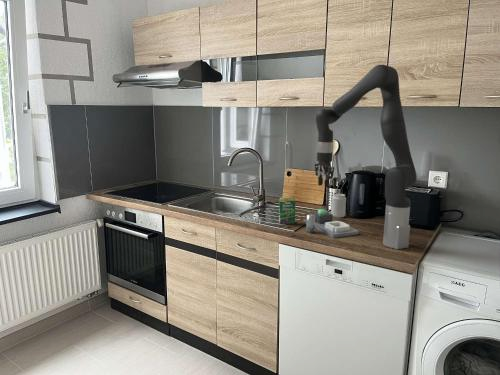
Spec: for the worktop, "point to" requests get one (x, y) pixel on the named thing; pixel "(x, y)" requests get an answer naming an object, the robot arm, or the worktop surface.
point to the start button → (322, 211)
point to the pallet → (332, 226)
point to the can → (338, 205)
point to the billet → (310, 223)
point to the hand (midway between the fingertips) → (323, 185)
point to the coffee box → (287, 210)
